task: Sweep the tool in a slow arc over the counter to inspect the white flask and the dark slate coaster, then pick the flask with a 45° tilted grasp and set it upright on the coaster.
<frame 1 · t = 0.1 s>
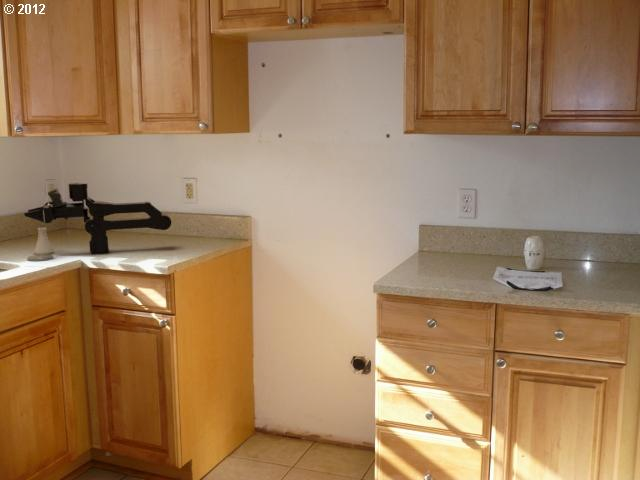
hand: (26, 212, 265), 17 cm above the countertop, tool horizontal, fingers open, 9 cm apart
flask: (44, 254, 273), on the countertop
slate coaster: (40, 258, 263), on the countertop
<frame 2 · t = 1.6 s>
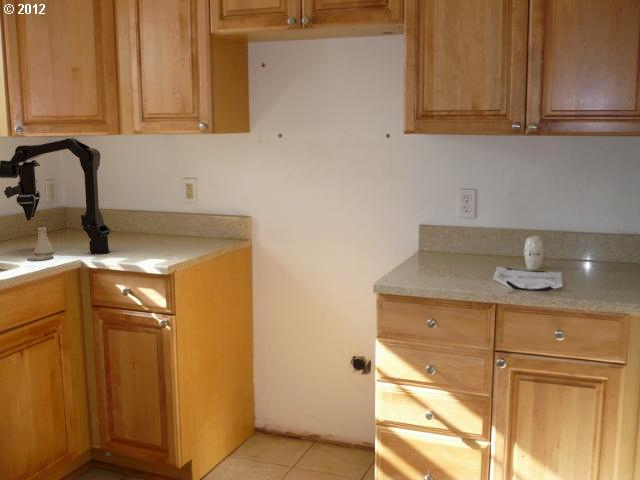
hand: (30, 218, 274), 13 cm above the countertop, tool pointing down, fingers open, 9 cm apart
nothing on the countertop moved.
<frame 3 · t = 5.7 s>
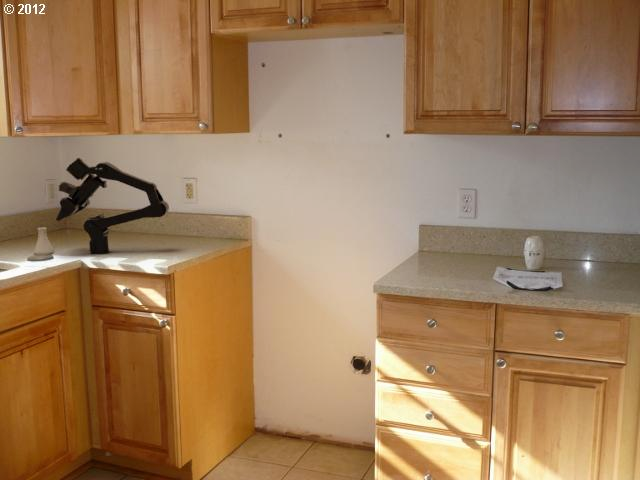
hand: (61, 218, 271), 13 cm above the countertop, tool tilted 45°, fingers open, 9 cm apart
nothing on the countertop moved.
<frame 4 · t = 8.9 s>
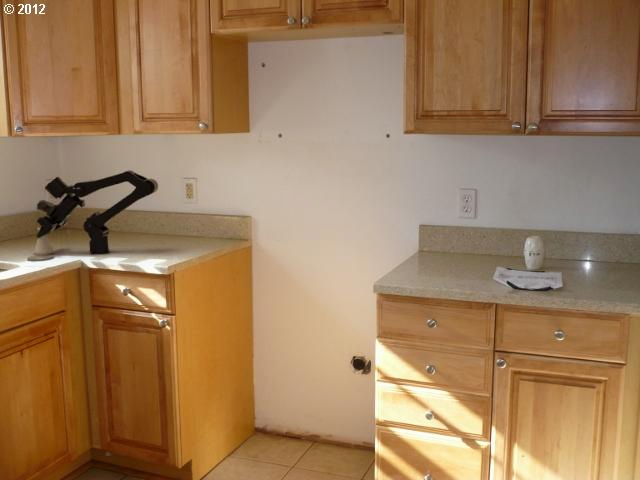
hand: (39, 236, 272), 7 cm above the countertop, tool tilted 45°, fingers closed on flask, 3 cm apart
flask: (44, 254, 273), on the countertop, touching gripper
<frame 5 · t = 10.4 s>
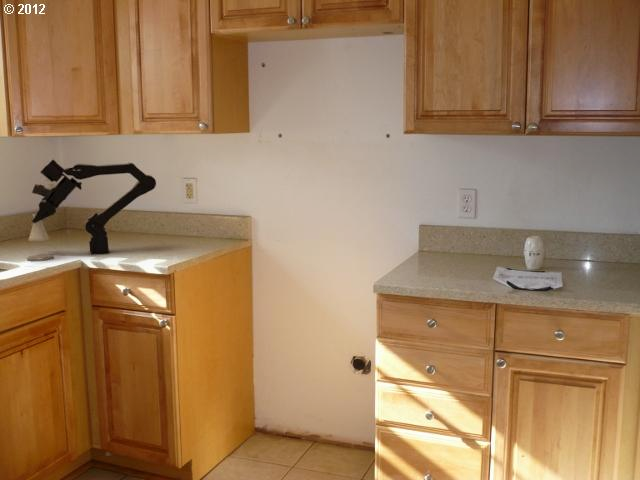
hand: (33, 221, 264), 13 cm above the countertop, tool tilted 45°, fingers closed on flask, 3 cm apart
flask: (38, 240, 266), point 6 cm above the countertop, touching gripper
when the fingers open (9 cm above the countertop, at t = 12.1 s): flask stays where it is, resting on slate coaster.
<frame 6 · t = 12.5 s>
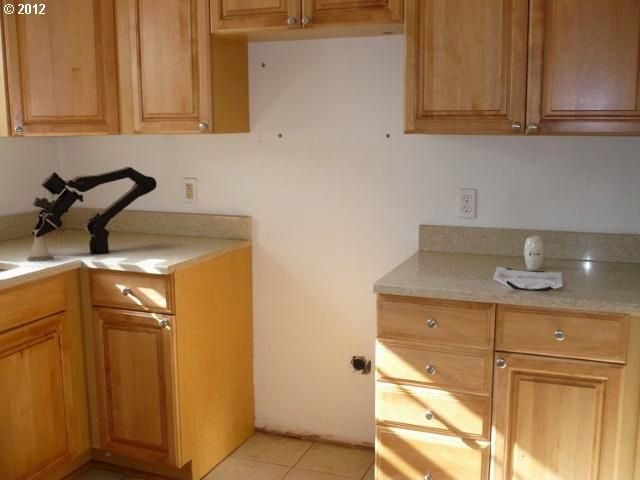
hand: (34, 235, 261), 9 cm above the countertop, tool tilted 45°, fingers open, 8 cm apart
flask: (40, 257, 262), point 1 cm above the countertop, touching slate coaster
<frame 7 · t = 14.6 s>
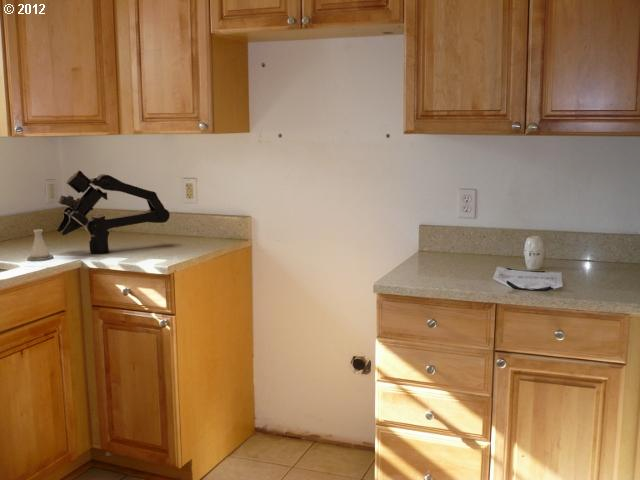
hand: (60, 232, 265), 9 cm above the countertop, tool tilted 45°, fingers open, 9 cm apart
nothing on the countertop moved.
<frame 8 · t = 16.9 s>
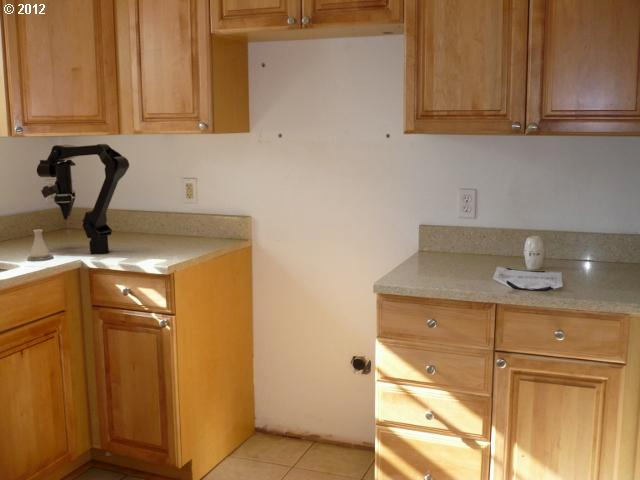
hand: (66, 217, 276), 13 cm above the countertop, tool pointing down, fingers open, 9 cm apart
nothing on the countertop moved.
at the end: flask 0.2 cm off-centre on the slate coaster, point 0.6 cm above the slate coaster's base; flask tilted 0°; the gripper is holding nothing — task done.
